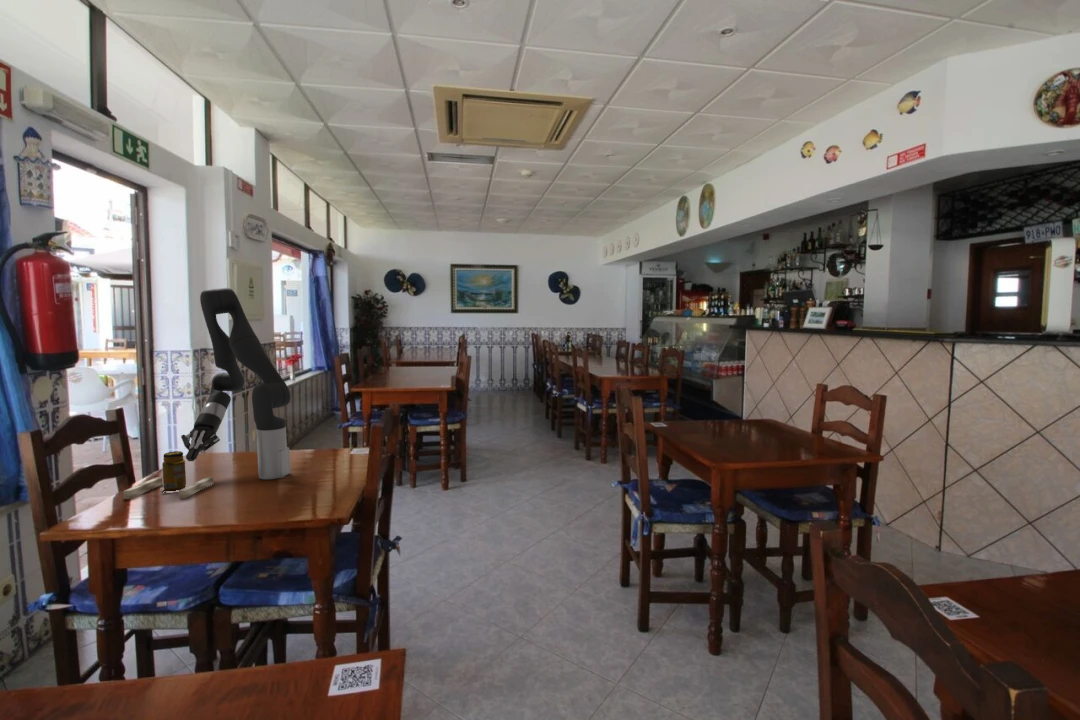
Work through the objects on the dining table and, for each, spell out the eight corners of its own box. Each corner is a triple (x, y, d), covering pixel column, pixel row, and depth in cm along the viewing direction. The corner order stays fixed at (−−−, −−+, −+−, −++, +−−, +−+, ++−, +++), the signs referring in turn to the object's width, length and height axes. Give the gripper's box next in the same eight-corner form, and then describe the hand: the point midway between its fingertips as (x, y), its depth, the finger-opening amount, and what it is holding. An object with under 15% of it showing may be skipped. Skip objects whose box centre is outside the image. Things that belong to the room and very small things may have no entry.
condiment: (186, 484, 173) (185, 449, 172) (189, 490, 167) (187, 454, 166) (160, 488, 169) (157, 452, 168) (161, 495, 162) (159, 458, 161)
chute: (156, 484, 173) (156, 477, 172) (213, 484, 173) (213, 477, 173) (123, 499, 159) (123, 491, 158) (185, 498, 159) (185, 490, 159)
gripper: (187, 411, 184) (164, 454, 173) (224, 412, 184) (204, 454, 173) (197, 423, 189) (175, 465, 178) (233, 423, 190) (214, 465, 178)
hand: (189, 460), depth 176 cm, fingers closed
